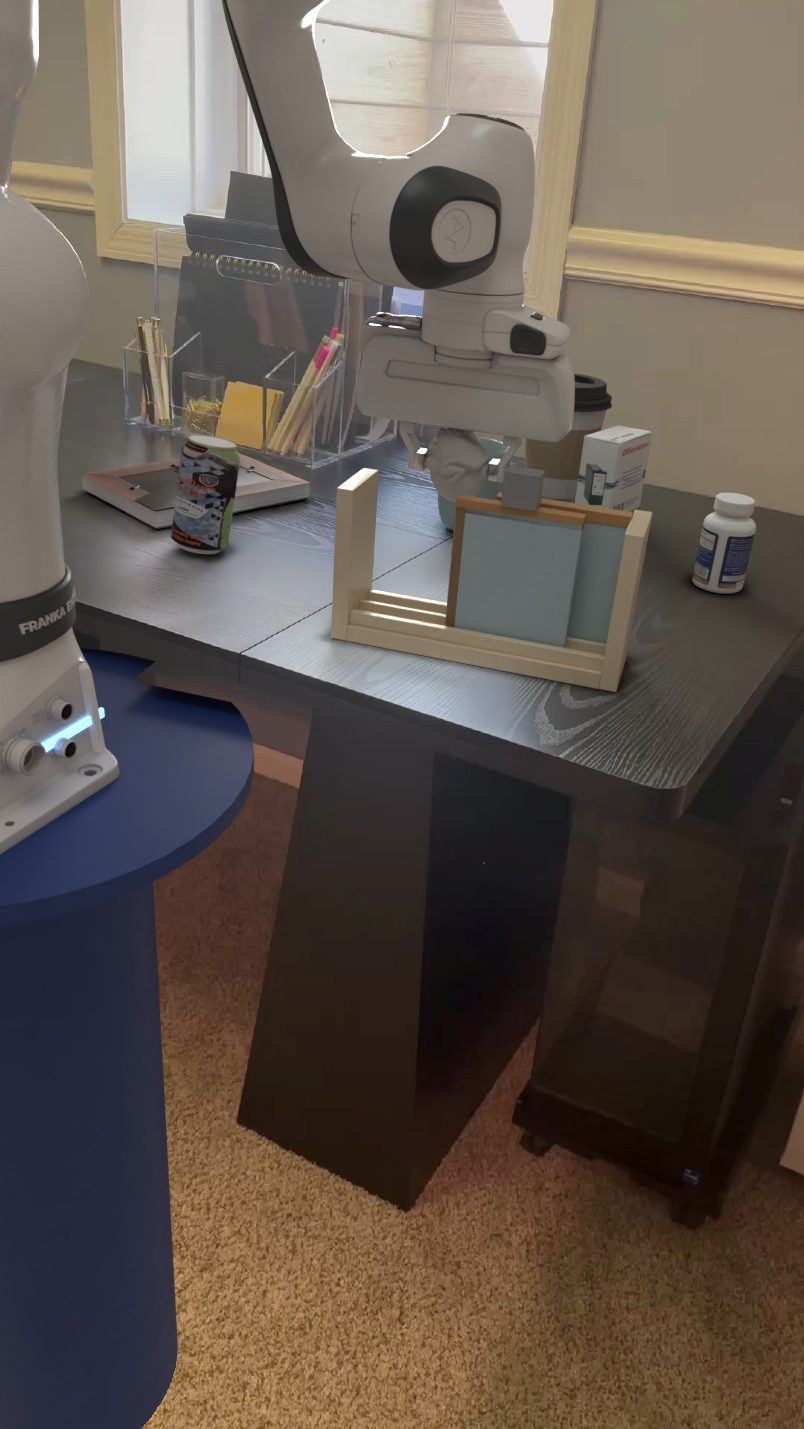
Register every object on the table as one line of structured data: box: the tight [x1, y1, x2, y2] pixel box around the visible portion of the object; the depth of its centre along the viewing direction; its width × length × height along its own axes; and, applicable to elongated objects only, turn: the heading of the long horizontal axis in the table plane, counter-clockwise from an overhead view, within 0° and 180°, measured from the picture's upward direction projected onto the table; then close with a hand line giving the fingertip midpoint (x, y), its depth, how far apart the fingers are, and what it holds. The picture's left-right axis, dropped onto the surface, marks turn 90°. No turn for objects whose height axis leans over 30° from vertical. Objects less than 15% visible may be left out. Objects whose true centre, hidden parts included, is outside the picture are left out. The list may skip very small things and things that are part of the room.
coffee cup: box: [524, 372, 613, 503], centre depth 138 cm, size 11×11×15 cm
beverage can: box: [170, 434, 240, 555], centre depth 114 cm, size 6×7×12 cm
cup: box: [437, 436, 511, 532], centre depth 126 cm, size 8×8×10 cm
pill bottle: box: [691, 492, 757, 595], centre depth 115 cm, size 5×5×10 cm
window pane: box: [445, 464, 586, 648], centre depth 93 cm, size 2×11×16 cm, turn 73°
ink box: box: [575, 424, 653, 514], centre depth 129 cm, size 9×5×12 cm, turn 142°
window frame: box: [330, 467, 653, 693], centre depth 96 cm, size 7×26×14 cm, turn 73°
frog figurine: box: [426, 426, 490, 502], centre depth 103 cm, size 6×7×7 cm
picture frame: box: [81, 452, 311, 530], centre depth 132 cm, size 16×2×22 cm
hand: (457, 474), depth 104 cm, fingers closed on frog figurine, 6 cm apart
